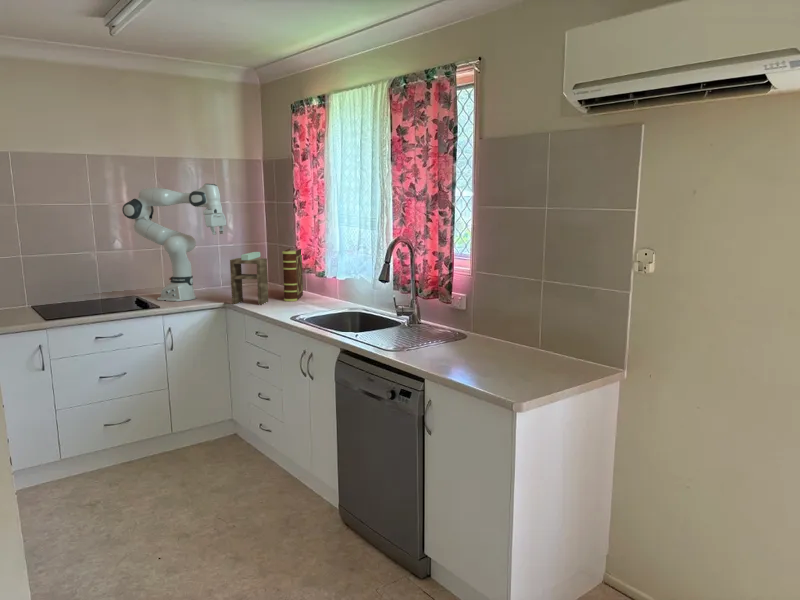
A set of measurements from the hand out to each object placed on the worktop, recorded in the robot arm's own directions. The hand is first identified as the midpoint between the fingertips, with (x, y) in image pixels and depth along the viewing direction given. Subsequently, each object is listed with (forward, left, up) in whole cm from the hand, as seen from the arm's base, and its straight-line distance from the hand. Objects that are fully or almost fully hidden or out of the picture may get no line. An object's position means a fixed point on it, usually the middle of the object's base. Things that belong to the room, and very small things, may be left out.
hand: (218, 234), depth 353 cm
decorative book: (+42, +12, -40) cm, 59 cm away
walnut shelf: (+22, -8, -40) cm, 46 cm away
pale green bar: (+22, -4, -14) cm, 26 cm away
